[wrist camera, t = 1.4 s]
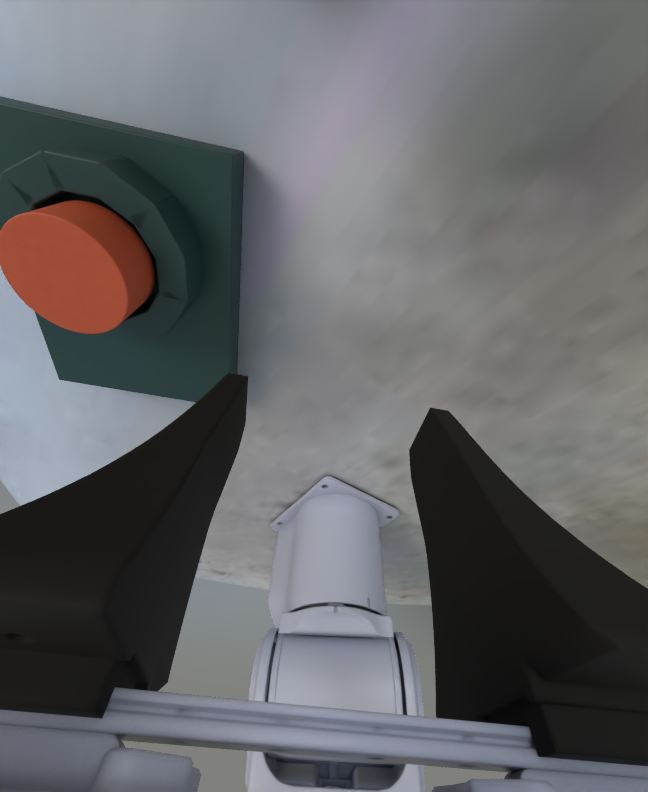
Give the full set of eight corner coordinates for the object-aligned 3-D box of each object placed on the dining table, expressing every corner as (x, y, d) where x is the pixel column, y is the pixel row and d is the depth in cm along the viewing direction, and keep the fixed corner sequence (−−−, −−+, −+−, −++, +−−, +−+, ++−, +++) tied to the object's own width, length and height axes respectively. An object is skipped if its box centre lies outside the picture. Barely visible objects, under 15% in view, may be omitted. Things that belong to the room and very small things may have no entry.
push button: (160, 317, 16) (136, 343, 14) (60, 299, 15) (22, 323, 14) (148, 213, 13) (116, 227, 11) (26, 188, 13) (-27, 199, 11)
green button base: (236, 388, 23) (219, 430, 20) (79, 361, 22) (35, 401, 19) (244, 151, 15) (218, 158, 12) (-3, 95, 14) (-103, 87, 11)
